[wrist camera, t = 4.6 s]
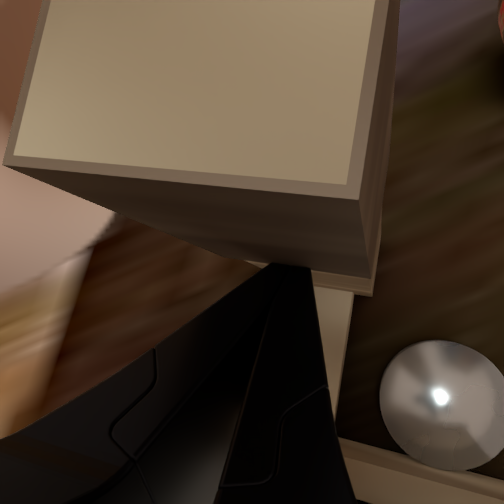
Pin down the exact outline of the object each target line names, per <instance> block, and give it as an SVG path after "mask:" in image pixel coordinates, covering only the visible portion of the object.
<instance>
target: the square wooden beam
mask: <svg viewBox="0 0 504 504" xmlns="http://www.w3.org/2000/svg"><path fill="white" fill-rule="evenodd" d="M399 9H400V0H43V1H42V5H41V9H40V13H39V17H38V21H37V25H36V29H35V34H34V38H33V42H32V46H31V50H30V54H29V58H28V62H27V66H26V70H25V74H24V78H23V82H22V86H21V91H20V95H19V99H18V103H17V107H16V111H15V115H14V119H13V123H12V127H11V131H10V135H9V139H8V144H7V147H6V152H5V156H4V160H3V164H2V165H4V166H6V167H9V168H11V169H13V170H16V171H18V172H21V173H23V174H25V175H28V176H30V177H33V178H35V179H38V180H40V181H43V182H45V183H47V184H50V185H52V186H54V187H57V188H59V189H62V190H64V191H66V192H69V193H71V194H73V195H76V196H78V197H81V198H83V199H85V200H88V201H90V202H93V203H95V204H97V205H100V206H102V207H105V208H107V209H110V210H112V211H114V212H117V213H119V214H122V215H124V216H126V217H129V218H131V219H134V220H136V221H138V222H141V223H143V224H146V225H148V226H150V227H153V228H155V229H158V230H160V231H162V232H165V233H167V234H170V235H172V236H174V237H177V238H179V239H182V240H184V241H186V242H189V243H191V244H194V245H196V246H198V247H201V248H203V249H206V250H208V251H210V252H213V253H215V254H218V255H220V256H223V257H227V258H233V259H240V260H245V261H247V262H249V263H251V264H253V265H256V266H258V267H260V268H264V267H265V266H267V265H268V264H269V263H271V262H272V263H279V264H285V265H290V266H299V267H306V268H310V269H311V272H312V279H313V286H314V292H315V299H316V306H317V312H318V319H319V326H320V332H321V339H322V345H323V352H324V359H325V365H326V372H327V379H328V385H329V388H328V389H329V391H330V397H331V404H332V410H333V415H334V420H336V413H337V407H338V400H339V393H340V387H341V380H342V373H343V367H344V360H345V353H346V347H347V340H348V334H349V327H350V320H351V314H352V307H353V300H354V294H356V295H362V296H369V297H372V295H373V288H374V281H375V274H376V268H377V261H378V254H379V247H380V240H381V218H382V202H383V195H384V188H385V182H386V175H387V168H388V161H389V153H390V138H391V124H392V110H393V95H394V81H395V67H396V52H397V38H398V24H399ZM338 439H339V443H340V446H341V450H342V454H343V457H344V461H345V464H346V468H347V471H348V474H349V477H350V481H351V484H352V487H353V490H354V494H355V497H356V499H358V500H362V501H365V502H368V503H372V504H504V481H503V480H500V479H496V478H492V477H488V476H484V475H481V474H477V473H473V472H469V471H465V470H460V471H450V470H442V469H437V468H434V467H431V466H428V465H426V464H423V463H421V462H419V461H418V460H416V459H414V458H413V457H411V456H408V455H404V454H400V453H397V452H393V451H389V450H385V449H381V448H378V447H374V446H370V445H366V444H362V443H358V442H355V441H351V440H347V439H343V438H339V437H338Z"/></svg>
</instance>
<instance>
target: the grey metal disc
mask: <svg viewBox="0 0 504 504" xmlns="http://www.w3.org/2000/svg"><path fill="white" fill-rule="evenodd" d="M380 408H381V413H382V417H383V420H384V423H385V425H386V427H387V429H388V431H389V433H390V434H391V436H392V438H393V439H394V440H395V441H396V443H397V444H398V445H399V446H400V447H401V448H402V449H403V450H404V451H405V452H406V453H407V454H409V455H410V456H411V457H413V458H414V459H416V460H418V461H419V462H421V463H423V464H426V465H428V466H431V467H434V468H437V469H442V470H450V471H460V470H467V469H472V468H475V467H478V466H481V465H483V464H485V463H487V462H488V461H490V460H491V459H492V458H494V457H495V456H496V455H497V454H498V453H499V452H500V451H501V450H502V449H503V447H504V377H503V375H502V374H501V373H500V371H499V370H498V369H497V367H496V366H495V365H494V364H493V363H492V362H491V361H490V360H488V359H487V358H486V357H485V356H483V355H482V354H480V353H479V352H477V351H475V350H473V349H471V348H469V347H467V346H464V345H461V344H458V343H455V342H451V341H446V340H425V341H421V342H417V343H414V344H412V345H409V346H407V347H406V348H404V349H402V350H401V351H400V352H399V353H397V354H396V355H395V356H394V357H393V358H392V359H391V361H390V362H389V364H388V365H387V367H386V369H385V371H384V373H383V376H382V379H381V383H380Z"/></svg>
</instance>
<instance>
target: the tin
mask: <svg viewBox="0 0 504 504" xmlns="http://www.w3.org/2000/svg"><path fill="white" fill-rule="evenodd" d="M497 13H498V23H499V29H500V34H501V37H502V41H503V45H504V0H499V3H498V11H497Z"/></svg>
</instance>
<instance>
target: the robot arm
mask: <svg viewBox="0 0 504 504" xmlns="http://www.w3.org/2000/svg"><path fill="white" fill-rule="evenodd" d="M328 388H329V385H328V379H327V372H326V365H325V359H324V352H323V345H322V339H321V332H320V326H319V319H318V312H317V306H316V299H315V292H314V286H313V279H312V272H311V269H310V268H306V267H299V266H290V265H285V264H279V263H272V262H271V263H269V264H268V265H267V266H265V267H264V268H262V269H261V270H260V271H258V272H257V273H256V274H254V275H253V276H251V277H250V278H249V279H247V280H246V281H244V282H243V283H242V284H240V285H239V286H237V287H236V288H235V289H233V290H232V291H230V292H229V293H228V294H226V295H225V296H224V297H222V298H221V299H219V300H218V301H217V302H215V303H214V304H212V305H211V306H210V307H208V308H207V309H205V310H204V311H203V312H201V313H200V314H198V315H197V316H196V317H194V318H193V319H192V320H190V321H189V322H187V323H186V324H185V325H183V326H182V327H180V328H179V329H178V330H176V331H175V332H173V333H172V334H171V335H169V336H168V337H166V338H165V339H164V340H162V341H161V342H160V343H158V344H157V345H155V349H154V348H151V349H150V350H148V351H147V352H145V353H144V354H143V355H141V356H140V357H138V358H137V359H136V360H134V361H133V362H131V363H130V364H128V365H127V366H125V367H124V368H122V369H121V370H119V371H118V372H116V373H115V374H113V375H112V376H110V377H109V378H107V379H105V380H104V381H102V382H101V383H99V384H97V385H96V386H94V387H92V388H91V389H89V390H88V391H86V392H84V393H83V394H81V395H79V396H77V397H76V398H74V399H72V400H71V401H69V402H67V403H66V404H64V405H62V406H61V407H59V408H57V409H55V410H54V411H52V412H50V413H49V414H47V415H45V416H44V417H42V418H40V419H39V420H37V421H35V422H34V423H32V424H30V425H28V426H27V427H25V428H23V429H21V430H19V431H18V432H16V433H13V434H11V435H9V436H7V437H5V438H2V439H0V504H358V503H357V500H356V497H355V494H354V490H353V487H352V484H351V481H350V477H349V474H348V471H347V468H346V464H345V461H344V457H343V454H342V450H341V446H340V443H339V439H338V435H337V431H336V426H335V420H334V415H333V410H332V404H331V397H330V391H329V389H328Z"/></svg>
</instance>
